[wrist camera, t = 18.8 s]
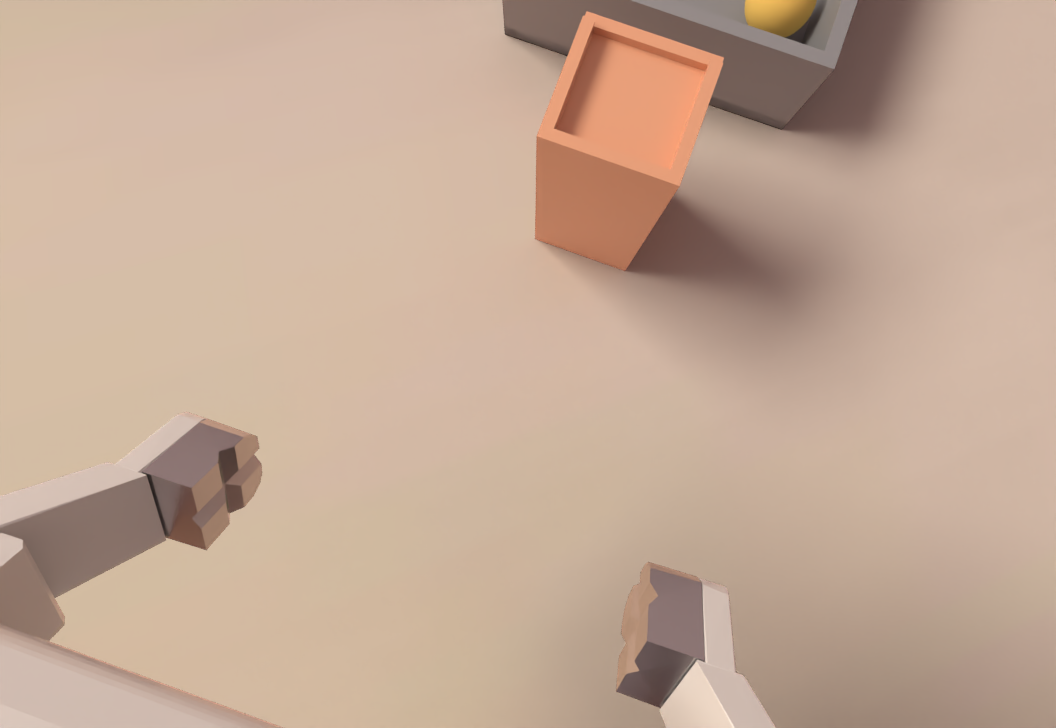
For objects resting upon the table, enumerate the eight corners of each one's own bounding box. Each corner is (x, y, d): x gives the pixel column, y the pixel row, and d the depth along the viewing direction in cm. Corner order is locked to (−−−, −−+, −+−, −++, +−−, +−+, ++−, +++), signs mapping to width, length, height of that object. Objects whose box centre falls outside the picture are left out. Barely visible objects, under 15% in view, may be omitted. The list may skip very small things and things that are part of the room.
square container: (625, 271, 26) (679, 186, 16) (535, 238, 26) (537, 136, 16) (656, 184, 26) (727, 51, 17) (567, 153, 26) (587, 3, 17)
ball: (742, 59, 26) (771, 33, 27) (805, 38, 24) (835, 11, 25) (724, -9, 24) (756, -34, 26) (790, -39, 22) (822, -64, 23)
